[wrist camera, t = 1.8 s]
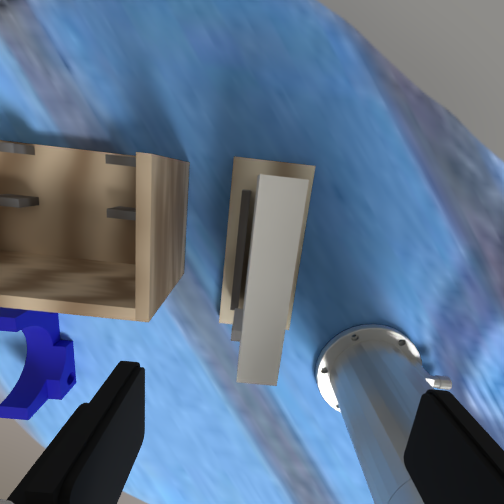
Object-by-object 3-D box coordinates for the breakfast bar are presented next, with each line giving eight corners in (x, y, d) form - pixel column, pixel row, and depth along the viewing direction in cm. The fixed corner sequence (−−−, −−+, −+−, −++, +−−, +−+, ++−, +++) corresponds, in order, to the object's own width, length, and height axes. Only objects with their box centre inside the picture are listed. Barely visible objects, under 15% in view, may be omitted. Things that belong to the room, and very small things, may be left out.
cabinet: (189, 162, 29) (151, 153, 18) (184, 273, 32) (148, 322, 21) (-21, 138, 28) (-187, 114, 18) (-6, 253, 31) (-139, 292, 21)
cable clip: (77, 381, 36) (42, 421, 30) (41, 378, 36) (0, 417, 30) (70, 294, 33) (30, 319, 27) (31, 290, 33) (-17, 315, 27)
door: (249, 174, 28) (247, 172, 17) (287, 178, 28) (308, 179, 17) (235, 312, 32) (225, 380, 21) (268, 315, 32) (276, 385, 21)
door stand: (312, 166, 29) (321, 164, 25) (287, 324, 33) (291, 342, 30) (234, 157, 28) (231, 154, 25) (220, 317, 33) (216, 334, 30)
